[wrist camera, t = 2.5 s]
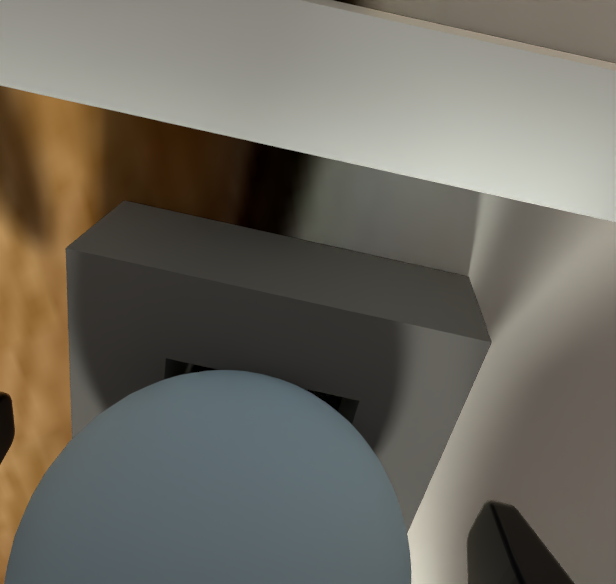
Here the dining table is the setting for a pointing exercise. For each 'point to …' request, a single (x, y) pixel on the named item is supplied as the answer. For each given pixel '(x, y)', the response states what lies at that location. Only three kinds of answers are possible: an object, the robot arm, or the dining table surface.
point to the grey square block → (275, 327)
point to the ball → (214, 493)
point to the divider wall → (336, 88)
